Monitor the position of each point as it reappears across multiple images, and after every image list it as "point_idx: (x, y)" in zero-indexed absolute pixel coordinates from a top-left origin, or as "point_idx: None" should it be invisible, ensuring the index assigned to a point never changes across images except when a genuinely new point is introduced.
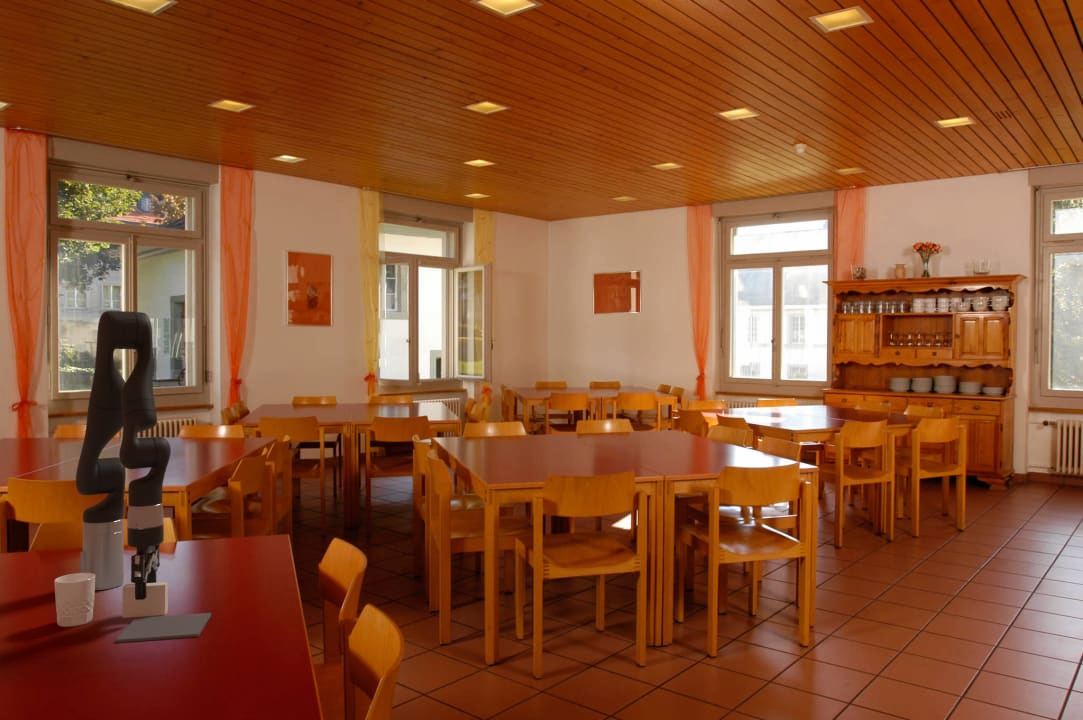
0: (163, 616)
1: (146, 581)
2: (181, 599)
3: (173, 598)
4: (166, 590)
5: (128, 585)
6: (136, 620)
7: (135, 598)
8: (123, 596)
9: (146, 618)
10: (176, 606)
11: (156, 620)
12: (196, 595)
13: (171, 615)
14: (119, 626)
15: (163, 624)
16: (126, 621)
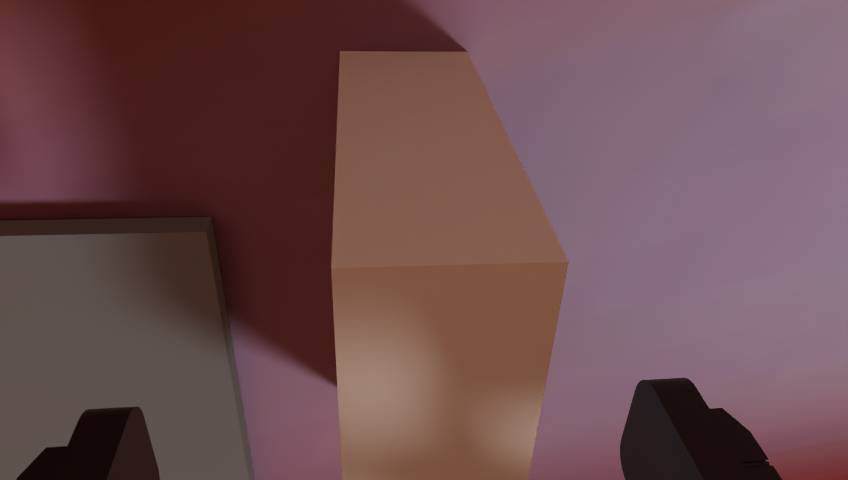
0: (222, 432)
1: (690, 471)
2: (758, 402)
3: (828, 345)
4: None
5: (463, 329)
6: (110, 263)
7: (80, 419)
8: (335, 184)
9: (177, 328)
10: (569, 413)
11: None
12: (809, 464)
13: (244, 472)
14: (9, 109)
15: (2, 478)
16: (191, 134)
